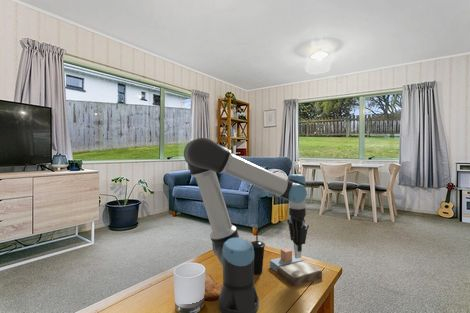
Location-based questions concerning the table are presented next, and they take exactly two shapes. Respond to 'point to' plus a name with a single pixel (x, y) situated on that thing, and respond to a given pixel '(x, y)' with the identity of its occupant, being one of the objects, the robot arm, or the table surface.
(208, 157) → the robot arm
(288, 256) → the blue base with cube
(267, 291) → the table surface
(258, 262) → the black tall container
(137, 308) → the table surface
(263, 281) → the table surface
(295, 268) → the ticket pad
